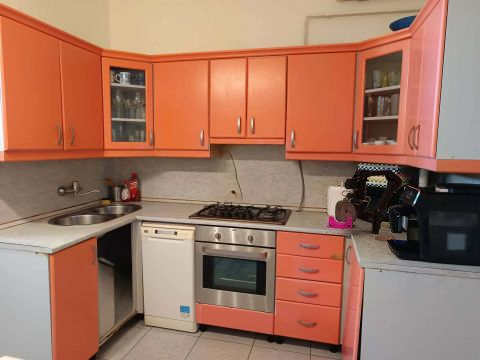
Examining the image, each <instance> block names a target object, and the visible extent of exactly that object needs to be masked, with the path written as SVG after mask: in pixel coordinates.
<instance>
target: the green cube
mask: <svg viewBox="0 0 480 360" xmlns="http://www.w3.org/2000/svg"><path fill="white" fill-rule="evenodd" d="M389 223H390V222H387V221H385V222H382V223H381V231H387V232H389V231H391V230H392V228H391V229H390V224H389Z"/></svg>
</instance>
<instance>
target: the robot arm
mask: <svg viewBox="0 0 480 360" xmlns="http://www.w3.org/2000/svg"><path fill="white" fill-rule="evenodd" d="M371 177H384V178H385V180H386V181H387V182H386V189H385V190H384V191H383V193H382V195H381V196H380V198H379V200H378V202H377V203H376V205H375V206H374V207H370V208H369V210H368V211H367V219H368V221H369V222H370V223H371V230H370V231H369V233H371V234H372V233H373V234H376V235H377V234H379V230H380V229H381V223H382V222H386V220H385V219H384V218H383V215H384V209H385V208H386V206H387V205H388V202H389V201H390V199H391V198H392V196H393V194H394V193H395V191H397V190H399V189H400V187H401V186H402V185H403V182H404V181H403V179H402V178H401V177H400V176H399V175H398V174H396V173H395V172H393V170H392V169H387V168H386V169H365V168H357V169H356V170H355V173H354V174H353V176H352V177H351V178H349V177H348V178H345V179H346V180H345V181H344V183H343V186H344V188H345V189H346V190H355V191H354V192H352V194H351V193H350V192H347V193H346V195H347V196H346V195H345V196H346V197H347V198H348V200H349V199H350V203H351V204H352V205H353V206H354V207H355V210H356V214H357V216H358V215H359V214H360V212H361V213H365V211H366V209H367V207H368V206H369V204H370V201H372V198H371V196H367V192H368V190H367V183H369V182H370V180H369V178H371Z"/></svg>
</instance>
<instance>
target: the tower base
mask: <svg viewBox="0 0 480 360" xmlns="http://www.w3.org/2000/svg"><path fill="white" fill-rule="evenodd" d="M391 239H397V235H396V234H393V236H392V238H390V237H382V236H379V234H377V233H376V235H375V236H374V240H376V241H380V242H385V243H386V242H387V240H391ZM387 243H388V242H387Z"/></svg>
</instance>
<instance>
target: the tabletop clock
mask: <svg viewBox="0 0 480 360" xmlns="http://www.w3.org/2000/svg"><path fill="white" fill-rule="evenodd" d="M344 192H347V193H351V194H352V193H353V192H352V191H351V190H343V191H342V192H341V195H342V196H343V199H339V200H338V201H336V204H335V207H334V219H335V220H336V221H337V222H338V223H345V222H347V221H348V219H349V217H352V228H355V227H356V226H355V224H354V223H356V220H357V217H358V215H357V214H356V210H355V207H354V206H353V205H352V204H351V203H350V200H351V199H349V200H348V198H347V197H346V196H347V194H346V195H345V194H343V193H344Z"/></svg>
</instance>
